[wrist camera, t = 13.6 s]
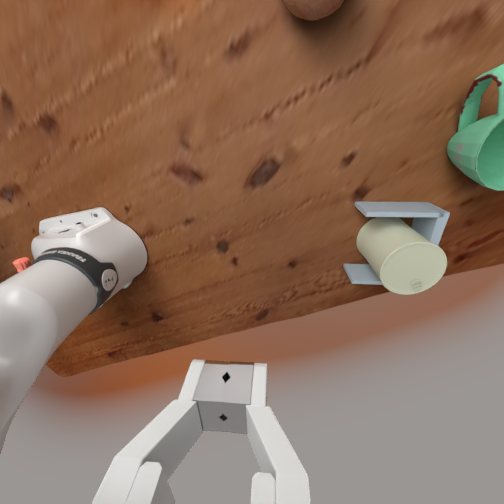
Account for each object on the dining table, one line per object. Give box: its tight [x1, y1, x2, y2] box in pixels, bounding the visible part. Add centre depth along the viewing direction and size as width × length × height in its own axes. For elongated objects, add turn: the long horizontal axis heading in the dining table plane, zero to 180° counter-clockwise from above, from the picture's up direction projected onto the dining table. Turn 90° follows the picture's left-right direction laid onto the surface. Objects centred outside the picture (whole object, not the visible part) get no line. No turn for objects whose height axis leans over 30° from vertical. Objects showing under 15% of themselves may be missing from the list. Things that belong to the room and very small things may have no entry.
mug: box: [447, 64, 504, 191], centre depth 32 cm, size 15×10×10 cm
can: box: [357, 217, 447, 295], centre depth 40 cm, size 9×9×12 cm
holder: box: [343, 202, 450, 285], centre depth 43 cm, size 12×14×6 cm
